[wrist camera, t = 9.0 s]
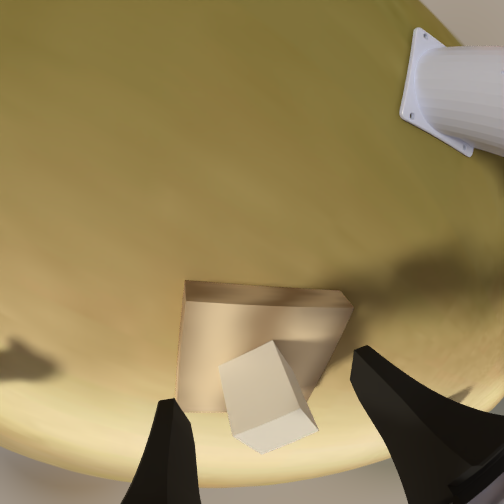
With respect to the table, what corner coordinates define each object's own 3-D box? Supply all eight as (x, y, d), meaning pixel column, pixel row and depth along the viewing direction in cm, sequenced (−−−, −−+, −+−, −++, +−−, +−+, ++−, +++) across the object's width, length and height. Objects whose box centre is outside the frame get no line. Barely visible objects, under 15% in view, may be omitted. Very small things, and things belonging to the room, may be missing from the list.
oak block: (337, 286, 23) (354, 307, 21) (294, 384, 28) (304, 406, 25) (184, 275, 20) (185, 301, 17) (175, 386, 25) (176, 411, 22)
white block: (272, 340, 20) (300, 408, 15) (292, 370, 22) (319, 430, 17) (218, 365, 20) (232, 435, 15) (244, 392, 22) (261, 454, 17)
